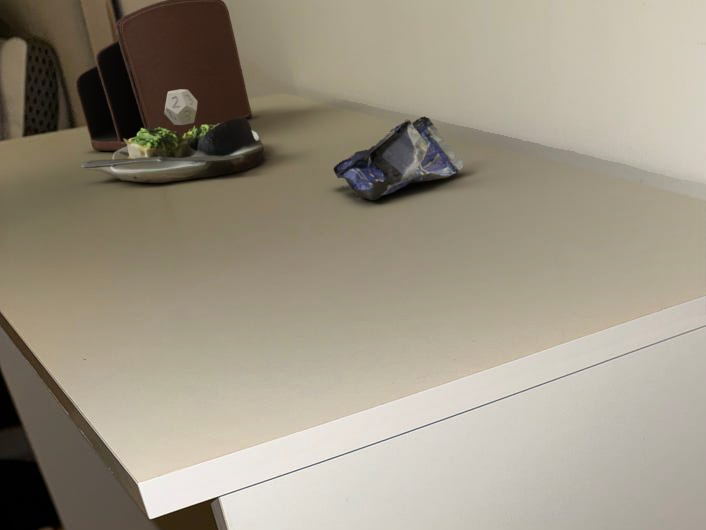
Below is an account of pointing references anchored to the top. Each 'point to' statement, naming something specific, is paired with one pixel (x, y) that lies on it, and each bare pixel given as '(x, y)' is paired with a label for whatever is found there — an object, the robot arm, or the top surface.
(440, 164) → the snack package
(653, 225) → the top surface
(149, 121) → the letter holder
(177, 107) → the game die
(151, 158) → the salad plate
